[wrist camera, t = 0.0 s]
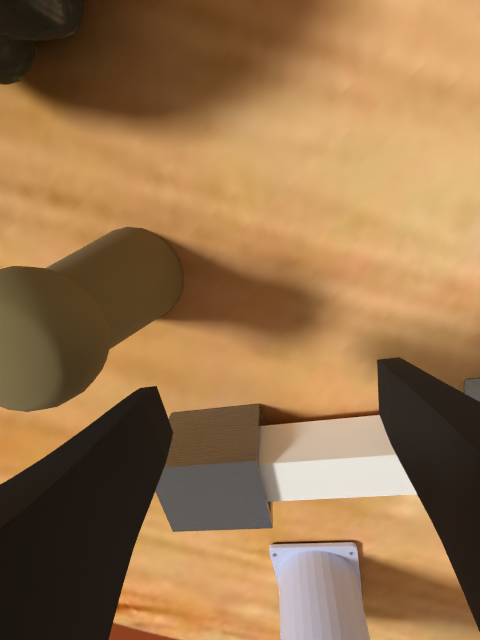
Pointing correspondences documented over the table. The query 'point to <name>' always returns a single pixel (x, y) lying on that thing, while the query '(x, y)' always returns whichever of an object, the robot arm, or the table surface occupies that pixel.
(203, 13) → the table surface
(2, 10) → the squash
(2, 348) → the olive game pawn
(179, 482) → the metal block
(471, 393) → the socket
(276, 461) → the long white plank
